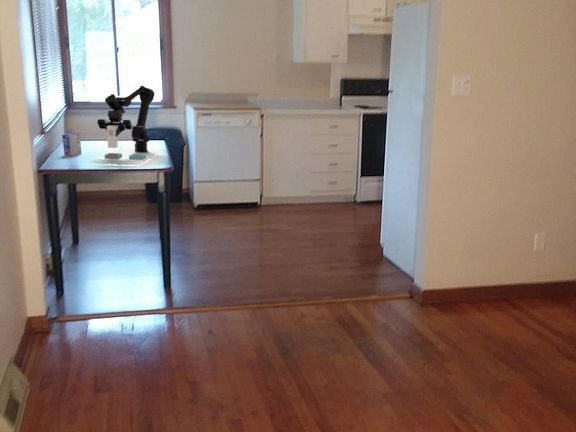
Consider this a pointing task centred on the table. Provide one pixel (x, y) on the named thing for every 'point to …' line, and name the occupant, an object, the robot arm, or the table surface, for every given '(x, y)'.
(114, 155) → the socket board
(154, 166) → the table surface
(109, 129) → the plug
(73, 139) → the ink cartridge box
